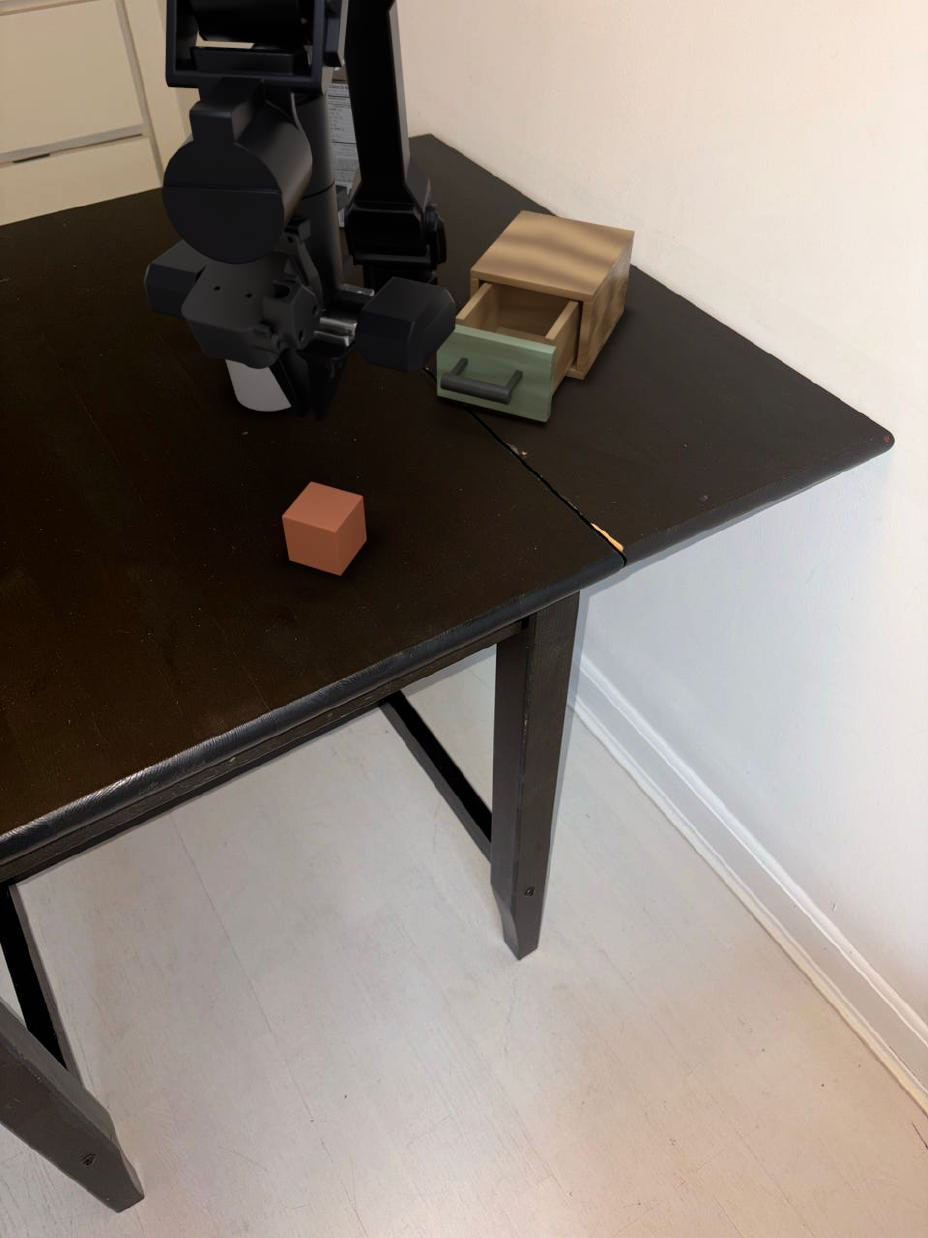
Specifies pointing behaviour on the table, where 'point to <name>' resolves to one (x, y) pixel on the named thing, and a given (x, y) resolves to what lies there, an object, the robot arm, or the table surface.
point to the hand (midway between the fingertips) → (312, 417)
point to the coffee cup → (256, 388)
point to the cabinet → (564, 271)
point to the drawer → (510, 350)
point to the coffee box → (342, 133)
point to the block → (325, 528)
